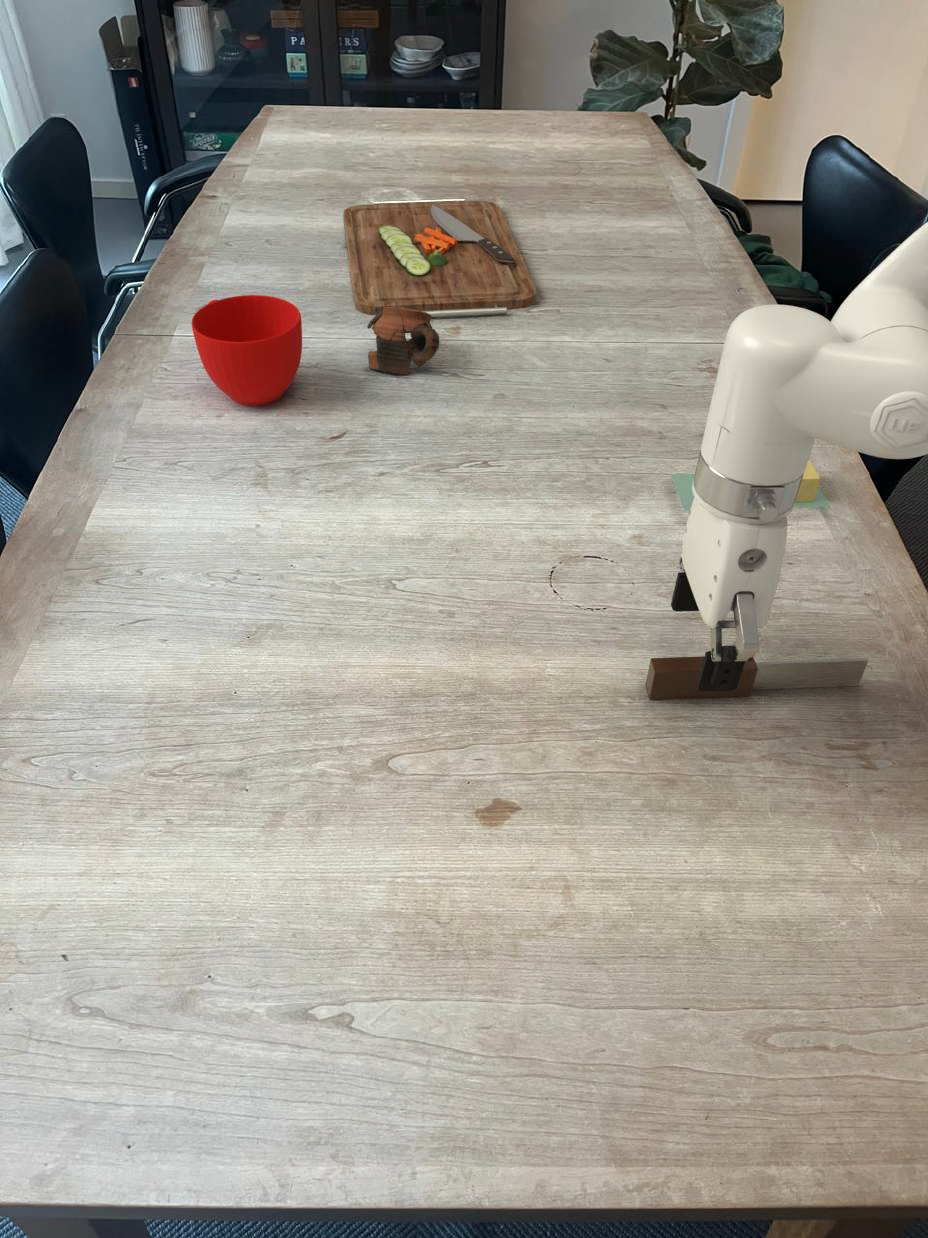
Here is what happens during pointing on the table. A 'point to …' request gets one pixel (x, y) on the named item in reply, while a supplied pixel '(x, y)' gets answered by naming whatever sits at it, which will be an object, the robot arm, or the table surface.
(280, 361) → the ceramic cup
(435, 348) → the pottery mug
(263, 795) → the table surface
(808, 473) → the butter block
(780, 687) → the knife
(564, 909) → the table surface
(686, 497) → the butter dish
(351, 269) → the chopping board
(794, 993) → the table surface
